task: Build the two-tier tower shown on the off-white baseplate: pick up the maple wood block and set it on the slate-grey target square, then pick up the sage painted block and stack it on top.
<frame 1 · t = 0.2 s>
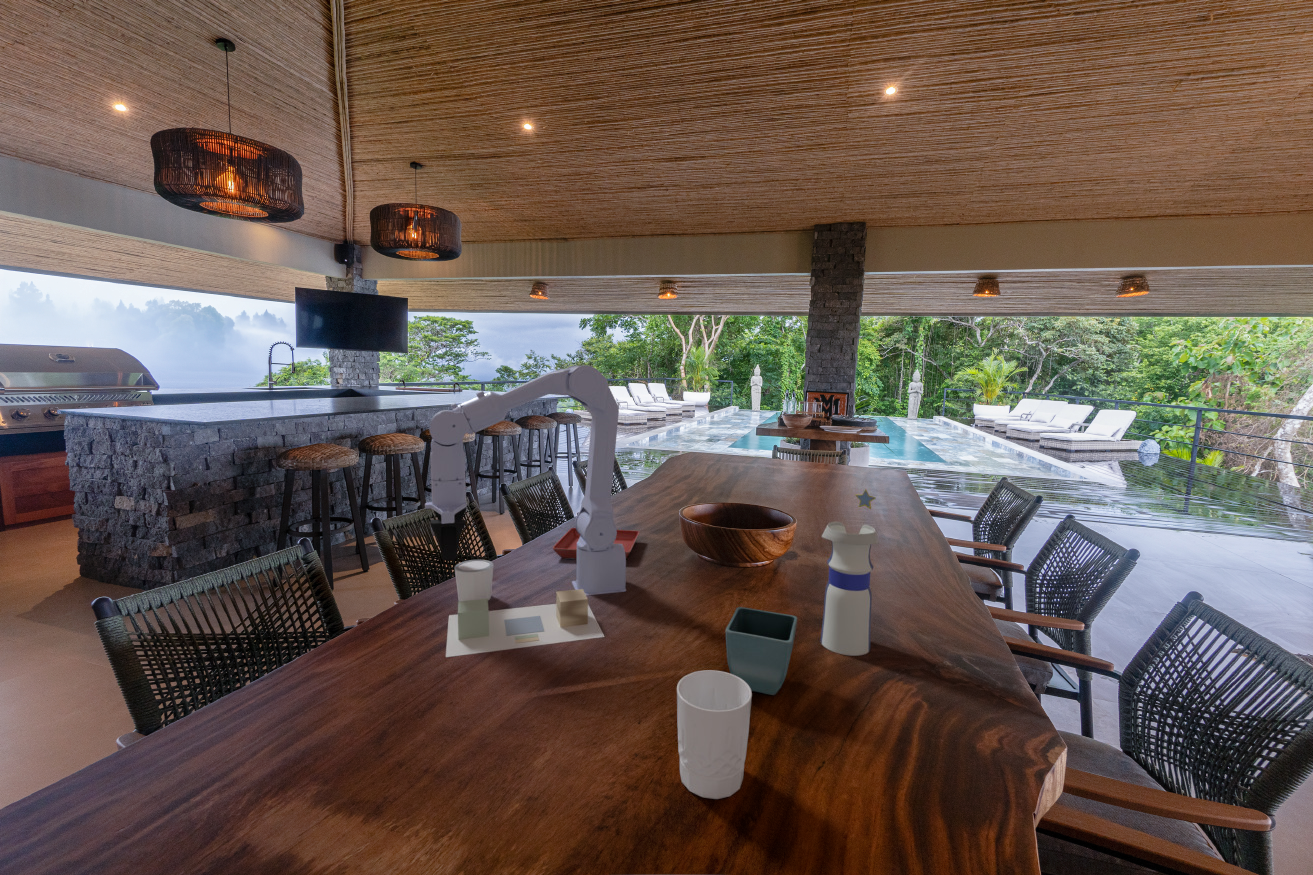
hand: (450, 552, 103), 10 cm above the table, tool pointing down, fingers open, 7 cm apart
white tumbler: (474, 602, 106), on the table
blueprint baseplate: (524, 628, 95), on the table
maple block: (571, 619, 97), point 1 cm above the table, touching blueprint baseplate
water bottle: (843, 644, 92), on the table
white cup: (711, 778, 61), on the table
flower pot: (759, 685, 80), on the table
plant saucer: (598, 552, 137), on the table
sage block: (473, 631, 92), point 1 cm above the table, touching blueprint baseplate
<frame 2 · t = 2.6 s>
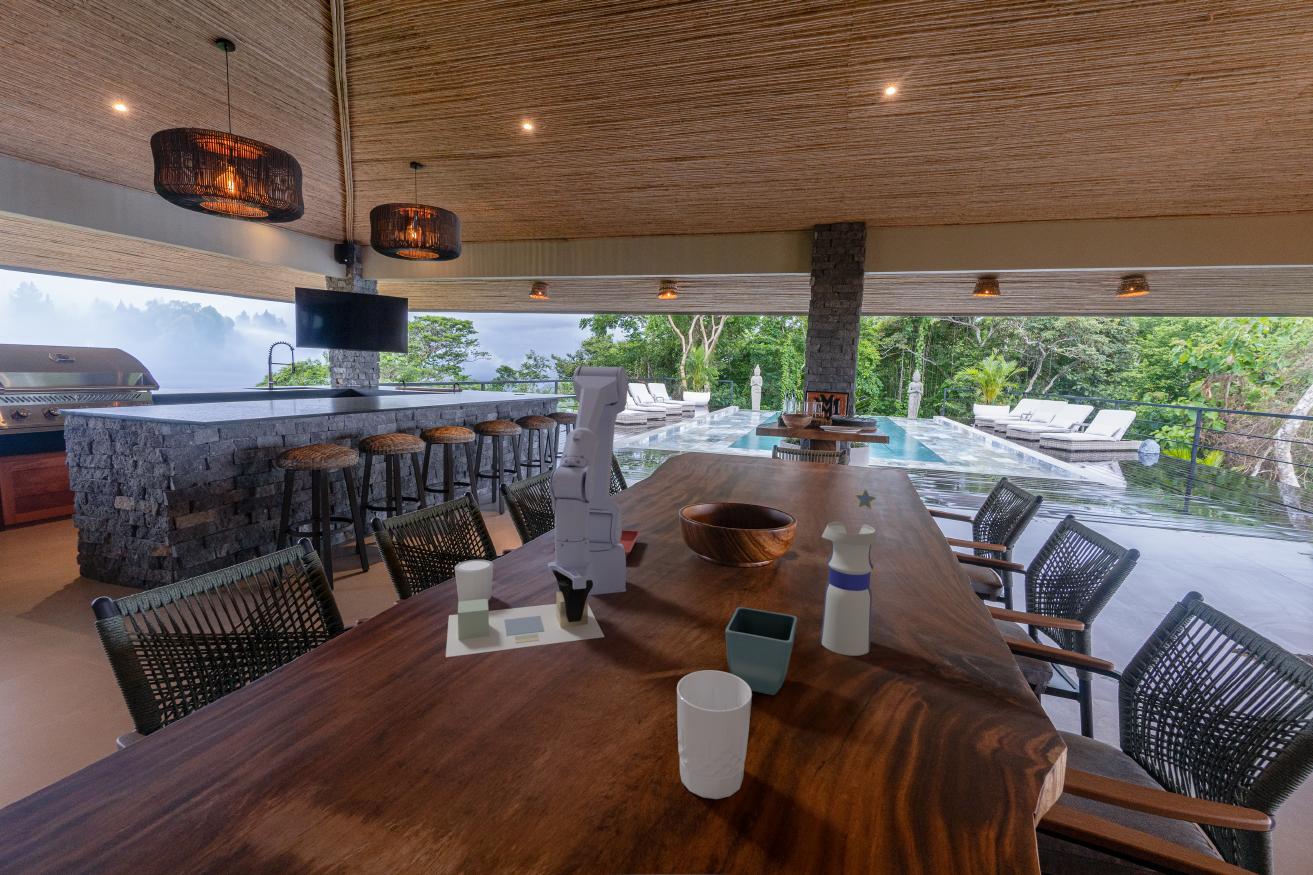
hand: (571, 614, 97), 2 cm above the table, tool pointing down, fingers closed on maple block, 5 cm apart
maple block: (571, 619, 97), point 1 cm above the table, touching blueprint baseplate, gripper
everything else where it was.
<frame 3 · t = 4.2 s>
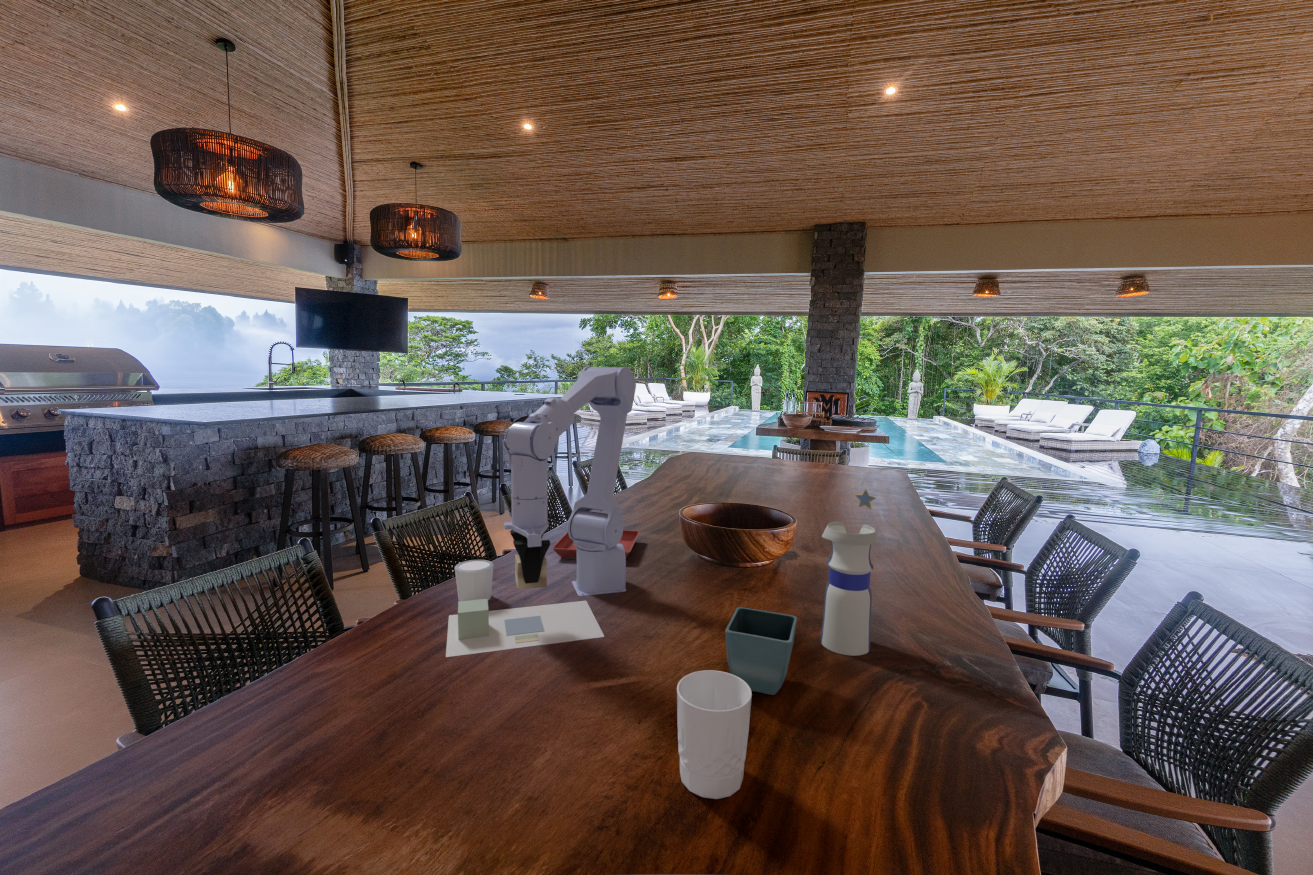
hand: (529, 576, 94), 9 cm above the table, tool pointing down, fingers closed on maple block, 5 cm apart
maple block: (530, 583, 94), point 8 cm above the table, touching gripper
everything else where it was.
when the fingers open (3 cm above the table, at t = 5.9 s): maple block drops 1 cm, resting on blueprint baseplate.
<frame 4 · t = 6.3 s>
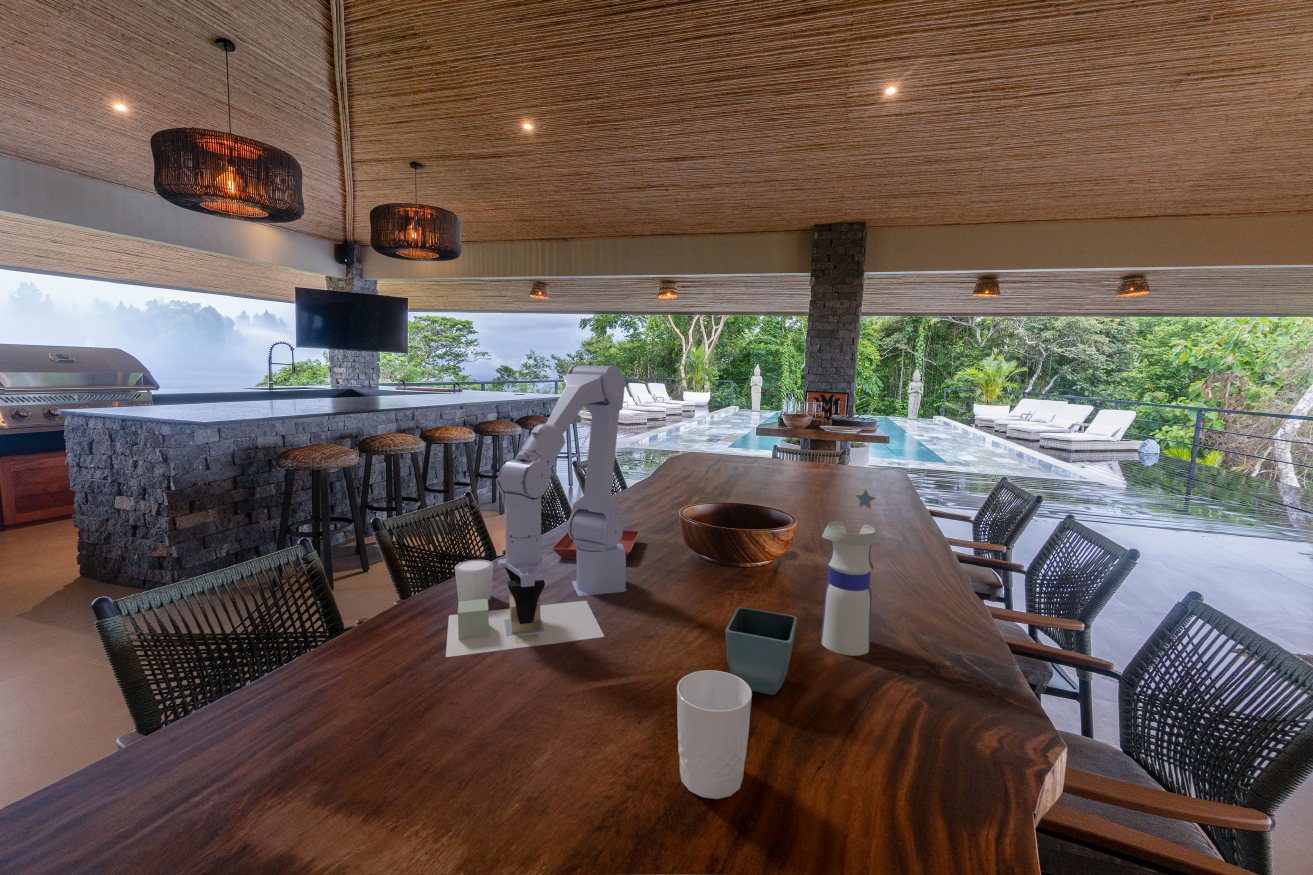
hand: (523, 612, 95), 3 cm above the table, tool pointing down, fingers open, 7 cm apart
maple block: (524, 624, 95), point 1 cm above the table, touching blueprint baseplate
everything else where it was.
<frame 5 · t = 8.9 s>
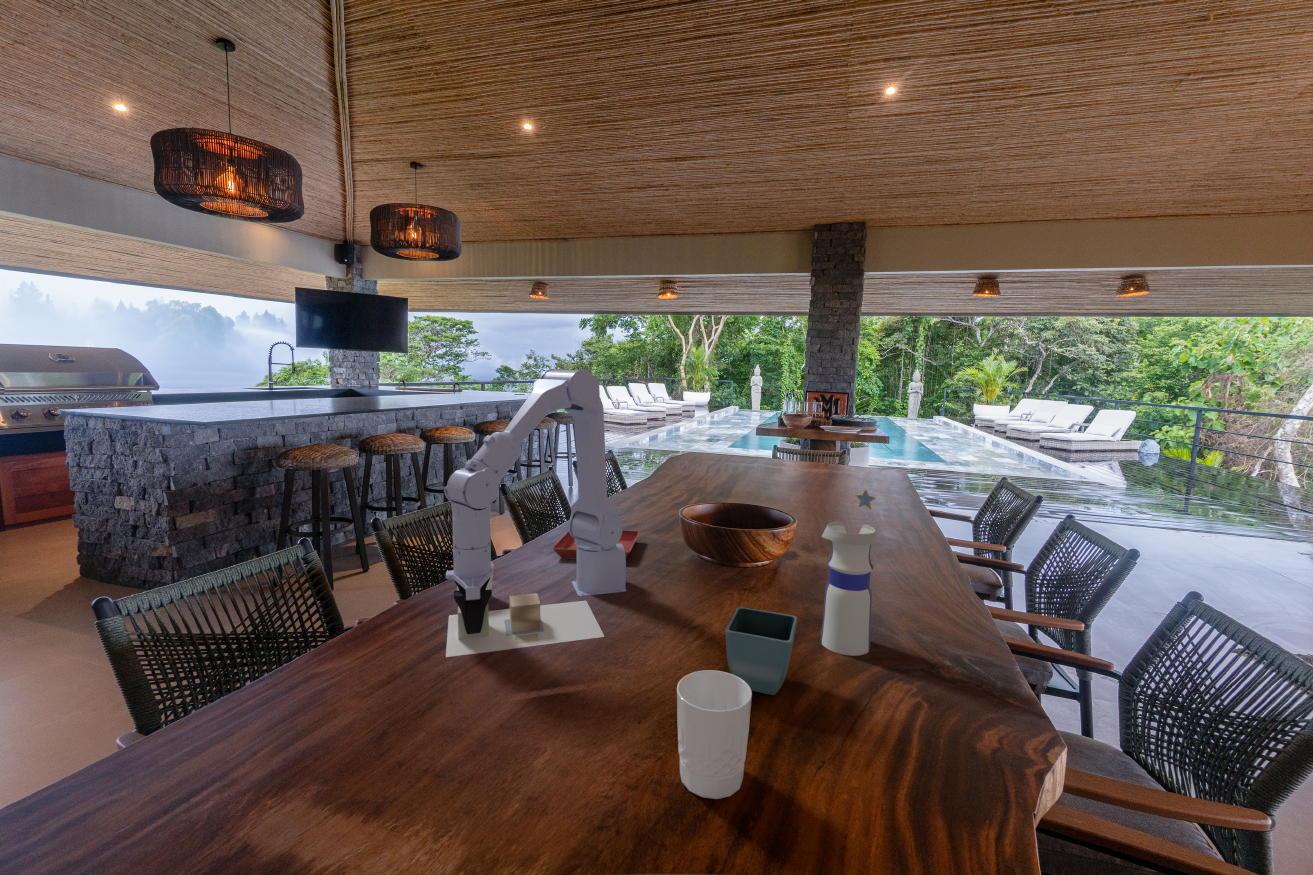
hand: (473, 625, 92), 2 cm above the table, tool pointing down, fingers closed on sage block, 5 cm apart
sage block: (473, 631, 92), point 1 cm above the table, touching blueprint baseplate, gripper
everything else where it was.
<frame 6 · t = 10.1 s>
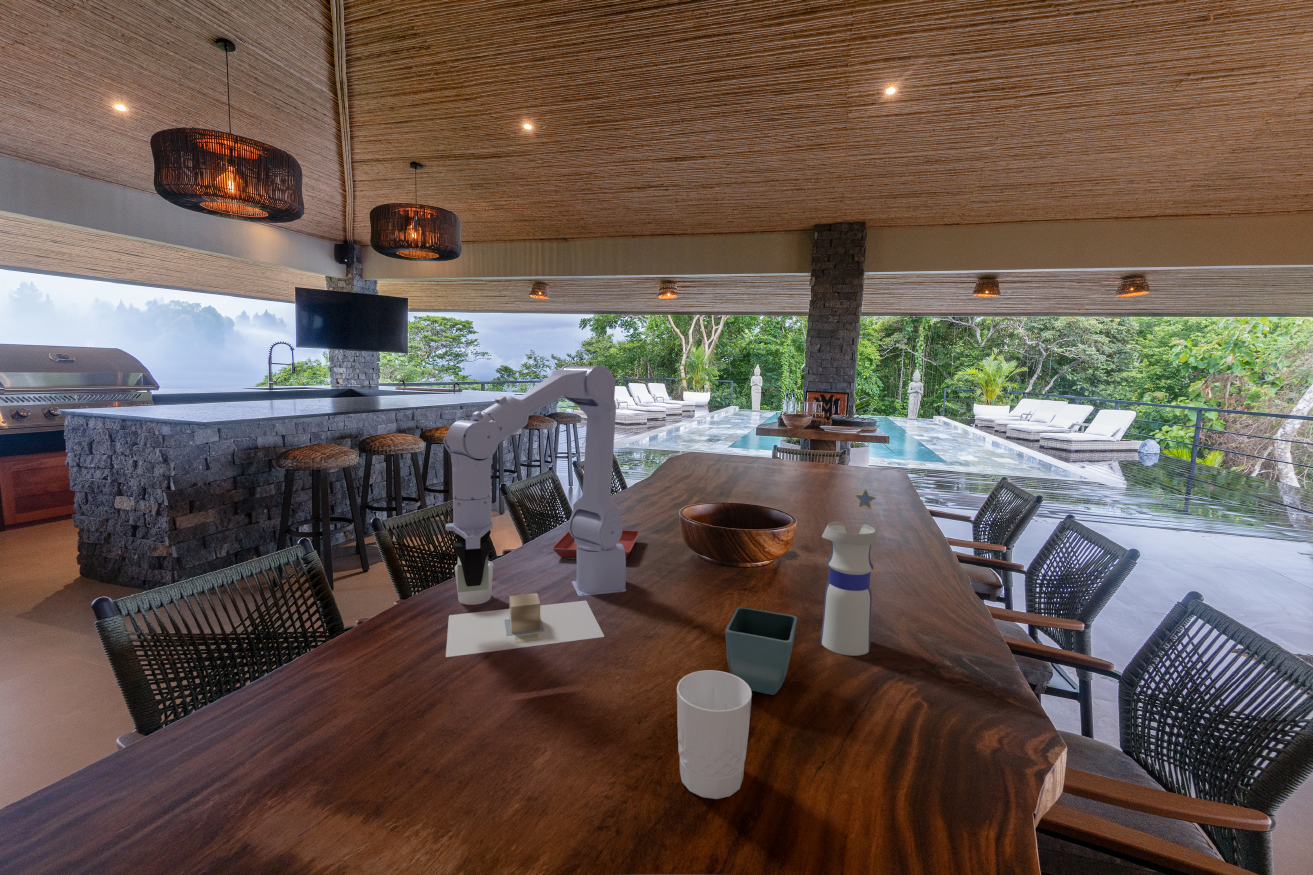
hand: (473, 579, 91), 9 cm above the table, tool pointing down, fingers closed on sage block, 5 cm apart
sage block: (473, 585, 91), point 8 cm above the table, touching gripper
everything else where it was.
when the fingers open (7 cm above the table, at t = 11.6 s): sage block drops 1 cm, resting on maple block.
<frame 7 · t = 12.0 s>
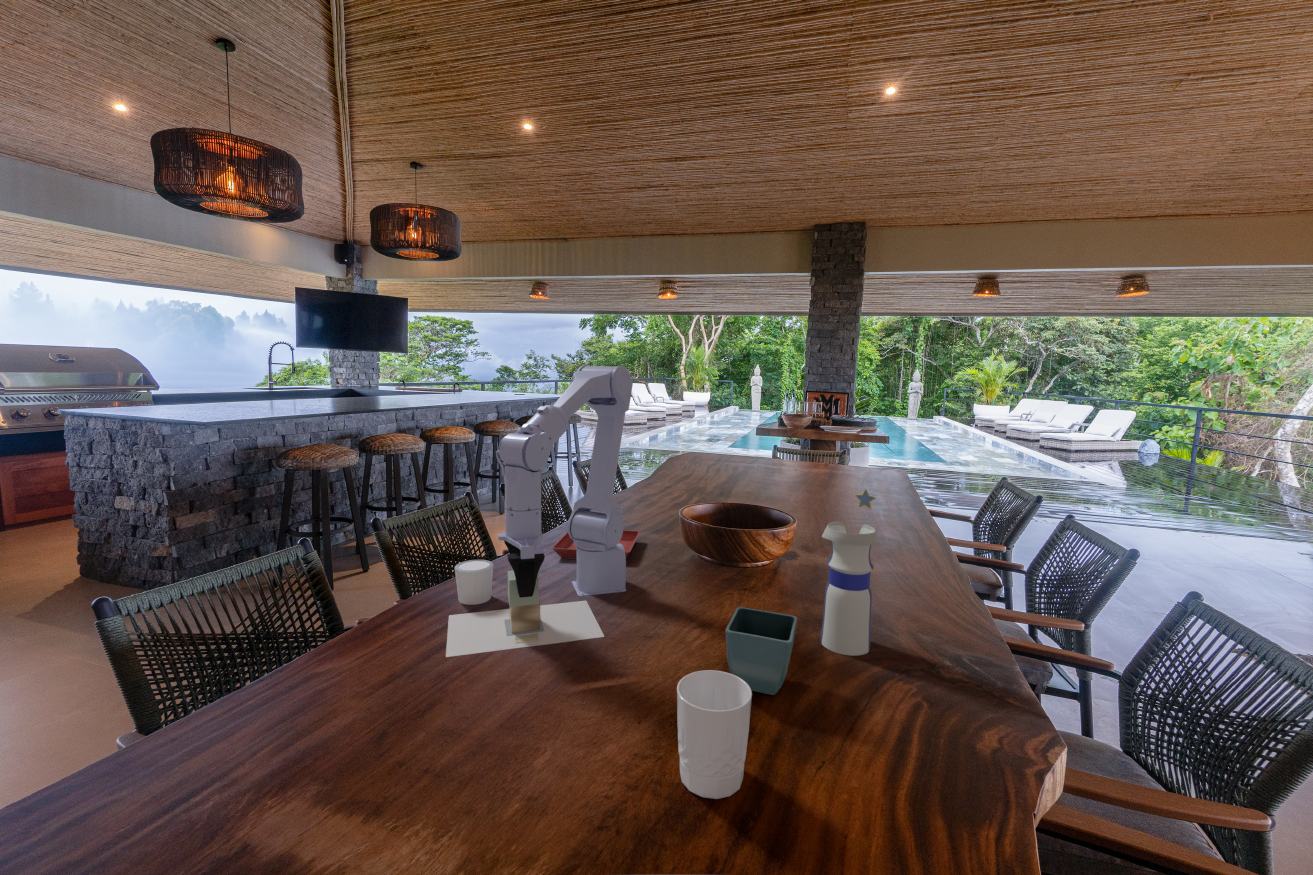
hand: (523, 587, 94), 7 cm above the table, tool pointing down, fingers open, 7 cm apart
maple block: (524, 624, 95), point 1 cm above the table, touching blueprint baseplate, sage block
sage block: (523, 599, 94), point 5 cm above the table, touching maple block
everything else where it was.
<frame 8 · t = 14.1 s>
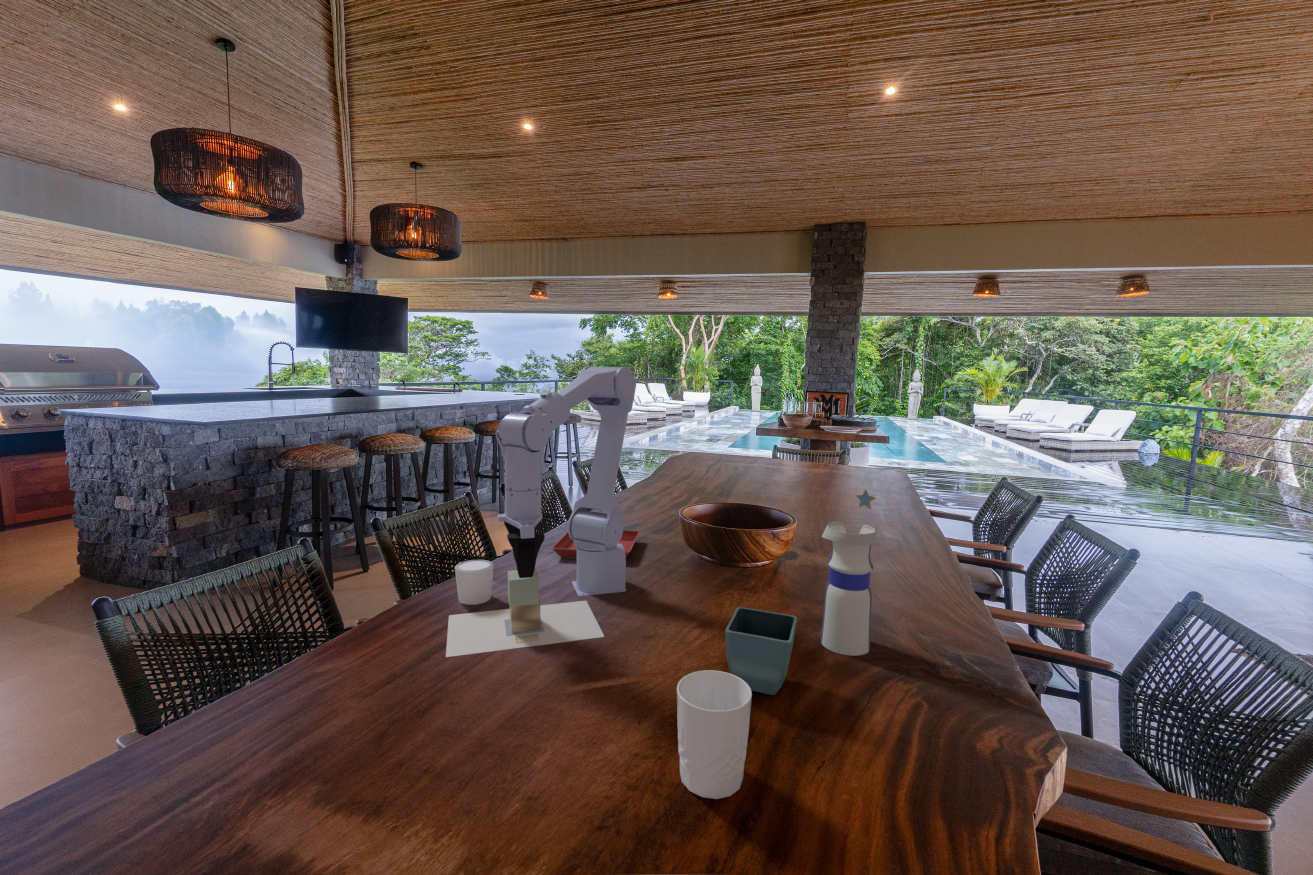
hand: (523, 568, 94), 10 cm above the table, tool pointing down, fingers open, 7 cm apart
nothing on the table moved.
at the end: maple block 0.1 cm off-centre on the blueprint baseplate, point 0.7 cm above the blueprint baseplate's base; sage block 0.3 cm off-centre on the maple block, point 4.4 cm above the maple block's base; sage block tilted 0° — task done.
